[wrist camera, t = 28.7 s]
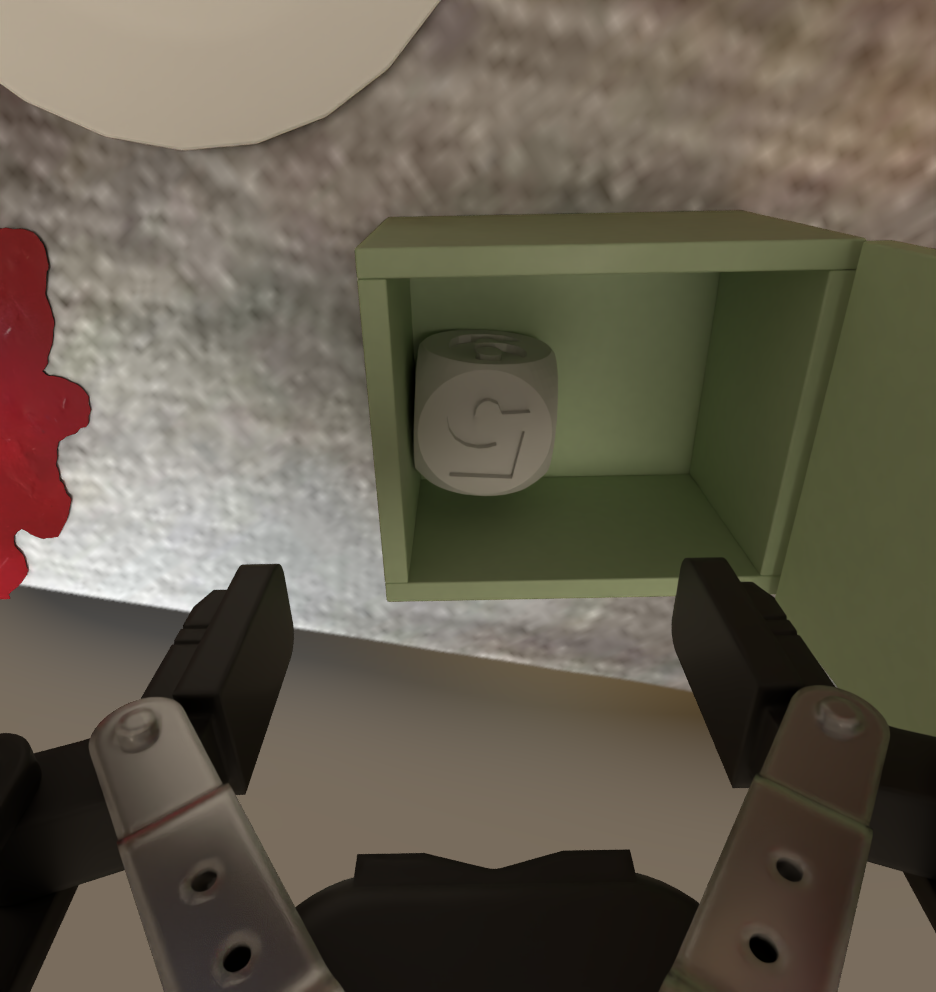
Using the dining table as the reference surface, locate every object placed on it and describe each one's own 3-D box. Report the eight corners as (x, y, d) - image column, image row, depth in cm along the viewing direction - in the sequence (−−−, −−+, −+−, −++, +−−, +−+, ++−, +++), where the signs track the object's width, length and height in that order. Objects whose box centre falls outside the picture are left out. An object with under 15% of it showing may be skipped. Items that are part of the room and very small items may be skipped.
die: (420, 441, 29) (413, 494, 24) (422, 325, 26) (414, 362, 22) (534, 446, 29) (548, 500, 24) (546, 332, 27) (563, 368, 22)
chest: (405, 486, 31) (386, 602, 23) (386, 216, 25) (353, 248, 17) (698, 481, 31) (778, 594, 23) (742, 209, 25) (867, 237, 17)
